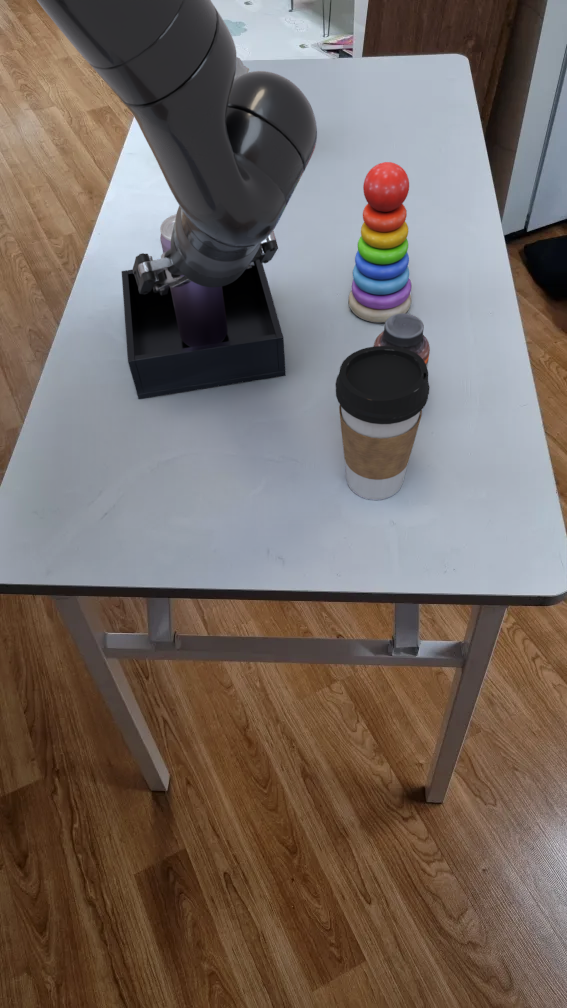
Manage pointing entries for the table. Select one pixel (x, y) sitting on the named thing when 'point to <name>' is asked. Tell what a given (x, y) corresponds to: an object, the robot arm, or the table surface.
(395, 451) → the coffee cup
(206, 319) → the beverage can
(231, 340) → the black open storage bin
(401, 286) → the stacking toy
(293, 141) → the robot arm
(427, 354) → the supplement bottle
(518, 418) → the table surface
